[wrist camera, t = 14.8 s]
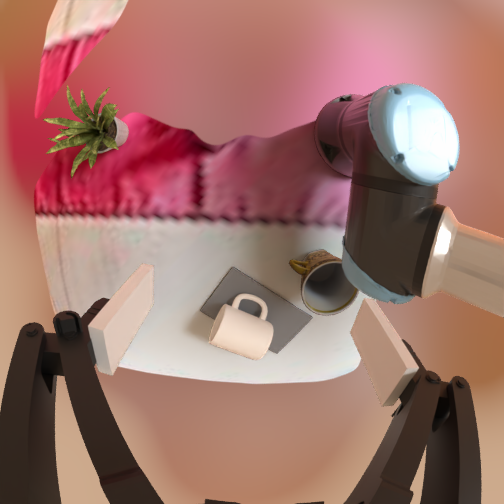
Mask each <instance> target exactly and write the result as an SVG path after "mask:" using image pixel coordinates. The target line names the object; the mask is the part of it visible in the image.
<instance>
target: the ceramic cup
mask: <svg viewBox="0 0 504 504" xmlns="http://www.w3.org/2000/svg"><path fill="white" fill-rule="evenodd" d="M289 264H290V266H291V267H292V268H293V269H294V270H295V271H296V272H297V273H299V274H301V275H302V279H301V295H302V300H303V302H304V304H305V306H306V307H307V308H308V309H309V310H310V311H312V312H313V313H316V314H319V315H334V314H337V313H340V312H342V311H344V310H345V309H347V308H348V307H349V306H350V305H351V304H352V303H353V302H354V301H355V299H356V297H357V295H358V293H359V290H358V289H357V288H356V287H355V286H353V285H352V284H351V283H350V281H349V280H348V279H347V277H346V276H345V273H344V270H343V268H342V260H341V259H340V258H337V257H335V256H333V255H332V254H330V253H328V252H327V251H325V250H323V249H322V250H318V251H314V252H310V253H308V255H307V256H306V258H305V259H304V261H297V260H293V259H292V260H290V261H289ZM297 264H298V265H297ZM299 265H302V267H301V266H299Z"/></svg>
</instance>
